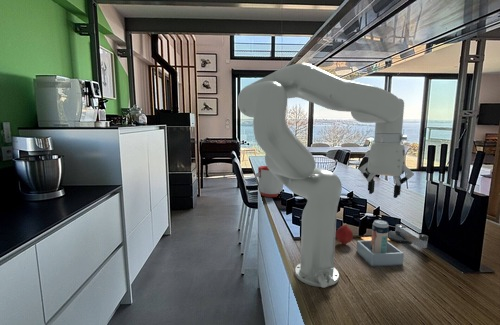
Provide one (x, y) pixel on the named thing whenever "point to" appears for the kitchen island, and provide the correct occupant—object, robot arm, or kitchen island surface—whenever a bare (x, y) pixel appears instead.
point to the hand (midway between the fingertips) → (383, 194)
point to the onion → (344, 234)
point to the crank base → (391, 237)
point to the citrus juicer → (268, 182)
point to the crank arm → (412, 236)
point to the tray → (380, 254)
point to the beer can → (379, 237)
